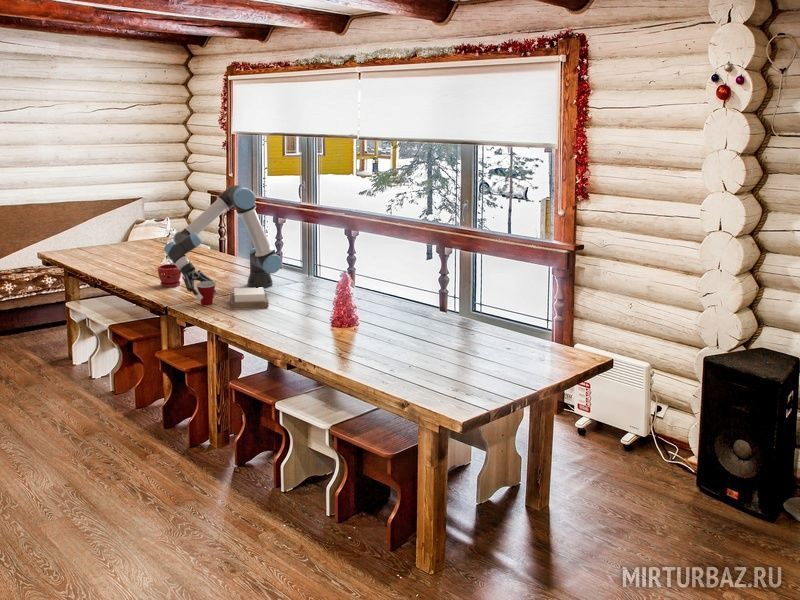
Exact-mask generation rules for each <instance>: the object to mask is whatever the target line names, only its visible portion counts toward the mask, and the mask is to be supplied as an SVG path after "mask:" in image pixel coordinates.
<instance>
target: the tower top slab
mask: <svg viewBox="0 0 800 600" xmlns="http://www.w3.org/2000/svg"><path fill="white" fill-rule="evenodd" d="M233 294H234V298H235V302H259V301H265V290H264V287H263V288H256V287H234V288H233Z"/></svg>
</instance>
